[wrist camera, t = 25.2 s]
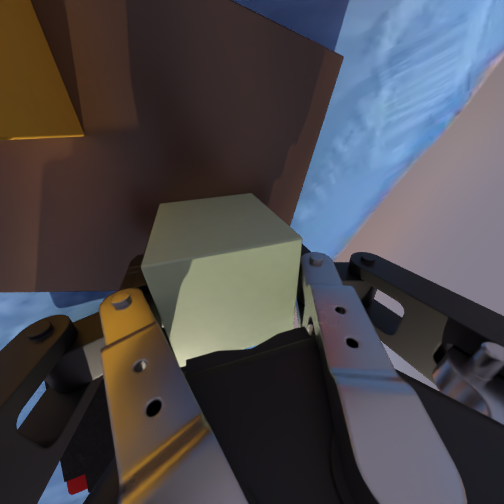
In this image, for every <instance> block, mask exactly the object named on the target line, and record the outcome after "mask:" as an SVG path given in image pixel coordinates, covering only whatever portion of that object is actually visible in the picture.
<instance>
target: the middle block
mask: <svg viewBox="0 0 504 504" xmlns="http://www.w3.org/2000/svg"><path fill="white" fill-rule="evenodd" d="M301 247H302V237H301V236H300V235H299V234H297V233H296V232H295V231H294V230H293V229H292V228H291V227H289V226H288V225H287V224H286V223H285V222H284V221H283V220H282V219H280V218H279V217H278V216H277V215H276V214H275V213H274V212H272V211H271V210H270V209H269V208H268V207H267V206H266V205H264V204H263V203H262V202H261V201H260V200H259V199H258V198H256V197H255V196H254V195H253V194H252V193H247V194H239V195H230V196H222V197H213V198H204V199H196V200H187V201H179V202H170V203H162V204H160V205H159V208H158V211H157V215H156V218H155V221H154V225H153V228H152V231H151V235H150V238H149V241H148V245H147V248H146V251H145V255H144V258H143V261H142V265H141V269H142V272H143V274H144V277H145V280H146V282H147V285H148V287H149V290H150V292H151V295H152V297H153V300H154V303H155V305H156V308H157V310H158V313H159V315H160V318H161V321H162V323H163V326H164V328H165V331H166V333H167V336H168V338H169V341H170V344H171V346H172V349H173V351H174V354H175V356H176V359H177V361H178V364H179V366H180V367H184V366H186V360H187V359H191V358H194V357H198V356H201V355H205V354H208V353H212V352H215V351H223V350H241V349H245V348H248V347H252V346H255V345H258V344H261V343H263V342H264V341H266V340H268V339H270V338H271V337H273V336H275V335H276V334H278V333H282V332H285V331H289V330H292V329H293V325H294V315H295V306H296V296H297V286H298V276H299V267H300V257H301Z"/></svg>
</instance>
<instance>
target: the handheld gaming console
mask: <svg viewBox="0 0 504 504" xmlns="http://www.w3.org/2000/svg"><path fill="white" fill-rule="evenodd" d="M161 329H162V331H163V334H164V336H165V338H166V340H167V342H168V344H169V346H170V348H171V350H172V352H173V354H174V351H173V349H172V346H171V344H170V341H169V338H168V336H167V333H166V331H165V328H164V327H161ZM174 356H175V354H174ZM175 358H176V356H175ZM176 360H177V359H176ZM177 362H178V361H177ZM180 368H181V370H182V372H185V371H186V366H184V367H180ZM45 386H46V390H47V388H48V387H49V384H47V383H46V382H45ZM114 456H115V449H114V442H113V436H112V429H111V423H110V416H109V410H108V403H107V397H106V390H105V383H104V377H103V379H102V381H101V383H100V385H99V387H98V388H97V390H96V392H95V394H94V396H93V398H92V400H91V402H90V404H89V406H88V408H87V409H86V411H85V413H84V415H83V417H82V419H81V421H80V423H79V425H78V427H77V429H76V430H75V432H74V434H73V436H72V438H71V440H70V442H69V444H68V446H67V448H66V450H65V451H64V453H63V455H62V457H61V459H60V462H61V467H62V472H63V477H64V482H66V481H67V487H68V492H69V494H71V495H73V494H76V493H78V492H81V491H83V490H85V489H87V488H88V492H91V491H92V489H93V488H94V486H95V485H96V483H97V482H98V480H99V479H100V477H101V476H102V474H103V473H104V471H105V470H106V468H107V467H108V465H109V464H110V462H111V461H112V459H113V458H114Z"/></svg>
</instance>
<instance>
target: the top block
mask: <svg viewBox="0 0 504 504" xmlns="http://www.w3.org/2000/svg"><path fill="white" fill-rule="evenodd" d="M79 136H84V132H83V130H82V128H81V125H80V123H79V120H78V118H77V115H76V113H75V110H74V108H73V105H72V103H71V100H70V98H69V95H68V93H67V90H66V88H65V85H64V83H63V80H62V78H61V75H60V73H59V70H58V68H57V65H56V63H55V60H54V58H53V56H52V53H51V51H50V48H49V46H48V43H47V41H46V38H45V36H44V33H43V31H42V28H41V26H40V23H39V21H38V18H37V16H36V13H35V11H34V8H33V6H32V3H31V1H30V0H0V140H17V139H38V138H59V137H79Z"/></svg>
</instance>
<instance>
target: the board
mask: <svg viewBox="0 0 504 504" xmlns="http://www.w3.org/2000/svg"><path fill="white" fill-rule="evenodd" d="M30 1H31V3H32V6H33V8H34V11H35V13H36V16H37V18H38V21H39V23H40V26H41V28H42V31H43V33H44V36H45V38H46V41H47V43H48V46H49V48H50V51H51V53H52V56H53V58H54V60H55V63H56V65H57V68H58V70H59V73H60V75H61V78H62V80H63V83H64V85H65V88H66V90H67V93H68V95H69V98H70V100H71V103H72V105H73V108H74V110H75V113H76V115H77V118H78V120H79V123H80V125H81V128H82V130H83V132H84V136H79V137H59V138H38V139H17V140H0V292H70V291H119V289H120V286H121V284H122V281H123V279H124V276H125V275H126V271H127V269H128V266H129V264H130V261H131V260H132V259H134V258H135V257H136V256H137V255H141V254H144V251H145V248H146V245H147V244H148V241H149V238H150V235H151V231H152V228H153V225H154V221H155V218H156V215H157V211H158V208H159V205H160V204H162V203H170V202H179V201H187V200H196V199H204V198H213V197H222V196H230V195H239V194H247V193H252V194H253V195H254V196H255V197H256V198H258V199H259V200H260V201H261V202H262V203H263V204H264V205H266V206H267V207H268V208H269V209H270V210H271V211H272V212H274V213H275V214H276V215H277V216H278V217H279V218H280V219H282V220H283V221H284V222H285V223H286V224H287V225H288V226H289V227H290V224H291V221H292V218H293V215H294V212H295V209H296V205H297V202H298V199H299V196H300V193H301V190H302V187H303V183H304V180H305V177H306V174H307V171H308V168H309V165H310V161H311V158H312V155H313V152H314V149H315V146H316V143H317V139H318V136H319V133H320V130H321V127H322V124H323V121H324V118H325V114H326V111H327V108H328V105H329V102H330V99H331V96H332V92H333V89H334V86H335V83H336V80H337V77H338V74H339V70H340V67H341V64H342V61H343V58H344V57H343V56H342V55H340V54H338V53H336V52H334V51H332V50H330V49H328V48H326V47H324V46H322V45H320V44H318V43H316V42H314V41H312V40H310V39H308V38H306V37H304V36H302V35H300V34H298V33H296V32H294V31H292V30H290V29H288V28H286V27H284V26H282V25H280V24H278V23H276V22H274V21H272V20H270V19H268V18H266V17H264V16H262V15H260V14H258V13H256V12H254V11H252V10H250V9H248V8H246V7H244V6H242V5H240V4H238V3H236V2H234V1H232V0H30Z"/></svg>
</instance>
